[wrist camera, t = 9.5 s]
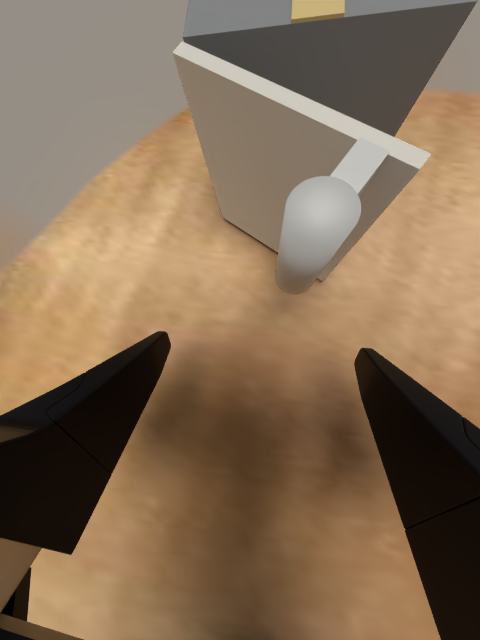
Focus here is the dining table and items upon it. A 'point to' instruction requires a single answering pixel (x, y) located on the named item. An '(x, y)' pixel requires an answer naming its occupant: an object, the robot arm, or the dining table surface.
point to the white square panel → (291, 166)
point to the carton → (334, 48)
